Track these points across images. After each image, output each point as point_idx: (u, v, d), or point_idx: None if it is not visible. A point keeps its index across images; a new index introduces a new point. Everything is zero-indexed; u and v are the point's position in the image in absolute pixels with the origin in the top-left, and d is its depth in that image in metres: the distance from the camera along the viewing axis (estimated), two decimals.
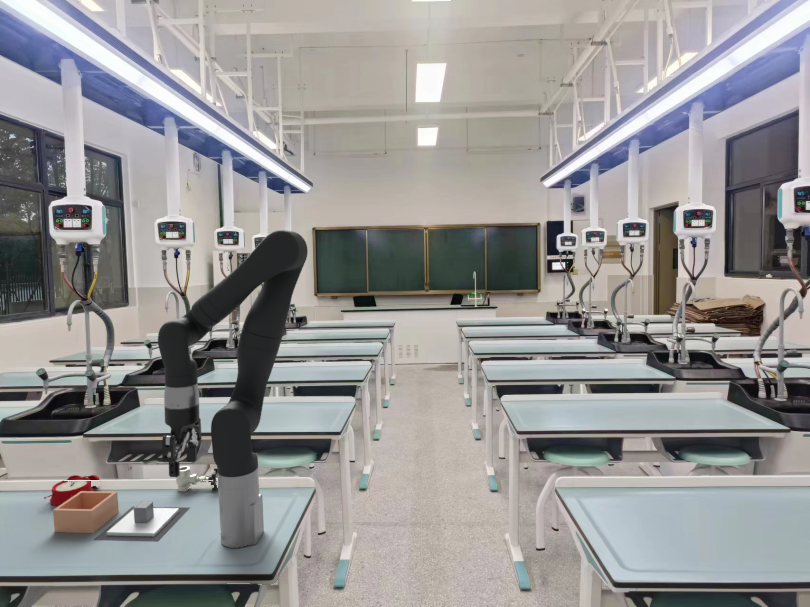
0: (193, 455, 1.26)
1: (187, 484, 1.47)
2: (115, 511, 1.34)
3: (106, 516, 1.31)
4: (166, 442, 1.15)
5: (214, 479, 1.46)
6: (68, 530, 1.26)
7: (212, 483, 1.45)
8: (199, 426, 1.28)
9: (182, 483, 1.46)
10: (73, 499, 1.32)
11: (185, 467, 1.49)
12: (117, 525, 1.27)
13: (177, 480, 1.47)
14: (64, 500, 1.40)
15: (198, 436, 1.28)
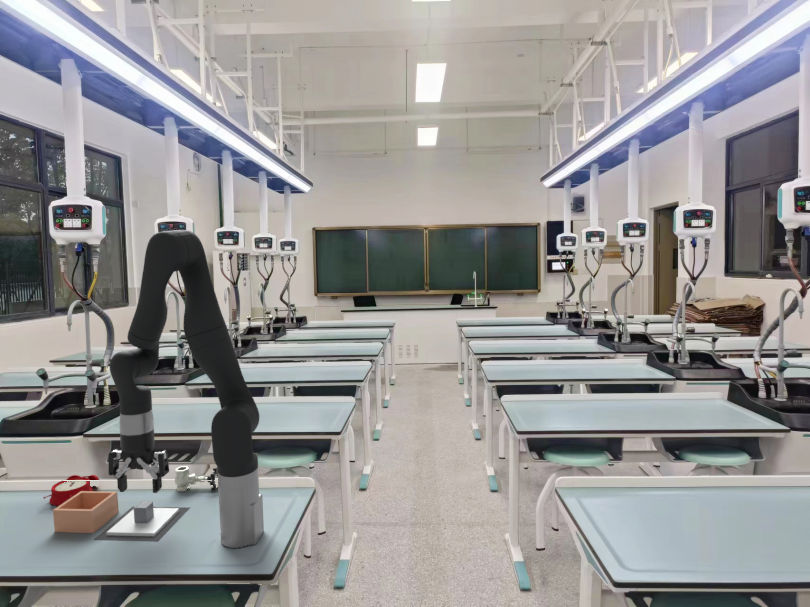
0: (125, 483, 1.29)
1: (186, 484, 1.47)
2: (115, 511, 1.34)
3: (106, 516, 1.31)
4: (164, 457, 1.27)
5: (213, 479, 1.46)
6: (68, 530, 1.26)
7: (211, 483, 1.45)
8: None
9: (181, 483, 1.46)
10: (73, 499, 1.32)
11: (184, 467, 1.49)
12: (117, 525, 1.27)
13: (176, 480, 1.47)
14: (63, 500, 1.40)
15: (118, 466, 1.29)
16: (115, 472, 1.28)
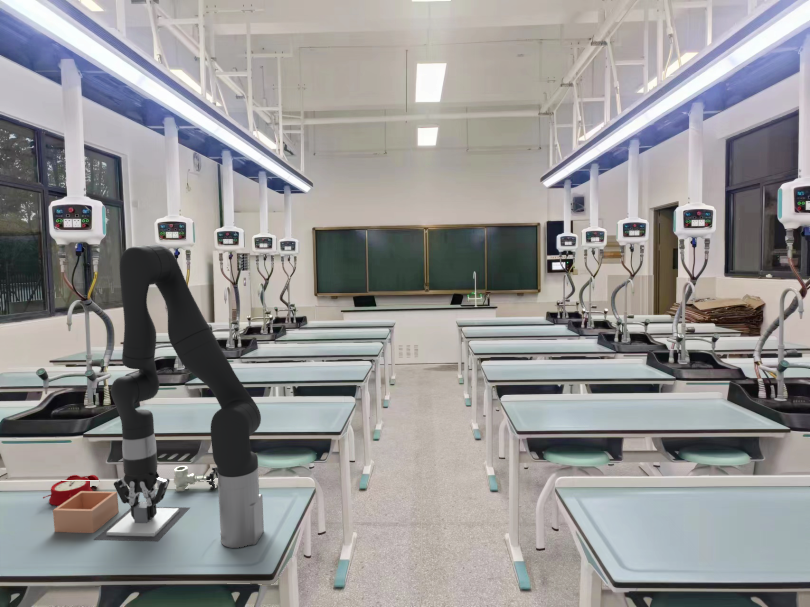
0: None
1: (185, 484, 1.47)
2: (115, 511, 1.34)
3: (106, 516, 1.31)
4: (165, 486, 1.28)
5: (212, 478, 1.47)
6: (68, 530, 1.26)
7: (210, 482, 1.46)
8: None
9: (180, 483, 1.46)
10: (73, 499, 1.32)
11: (182, 467, 1.49)
12: (117, 525, 1.27)
13: (175, 480, 1.47)
14: (63, 500, 1.40)
15: None
16: (128, 500, 1.29)
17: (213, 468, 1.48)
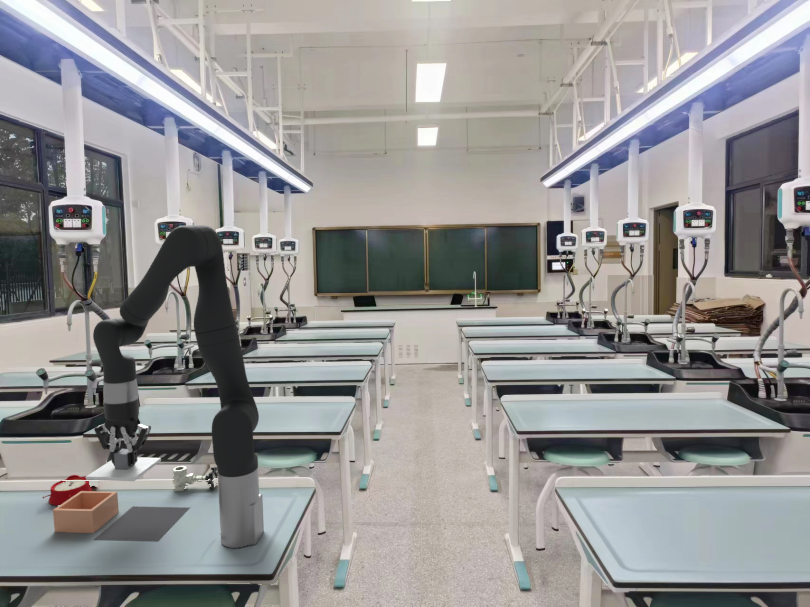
0: None
1: (184, 484, 1.47)
2: (115, 511, 1.34)
3: (106, 516, 1.31)
4: (146, 433, 1.27)
5: (211, 478, 1.47)
6: (68, 530, 1.26)
7: (209, 482, 1.46)
8: None
9: (179, 482, 1.46)
10: (73, 499, 1.32)
11: (181, 467, 1.49)
12: (97, 471, 1.26)
13: (174, 480, 1.47)
14: (62, 500, 1.40)
15: None
16: (109, 446, 1.28)
17: (212, 468, 1.48)
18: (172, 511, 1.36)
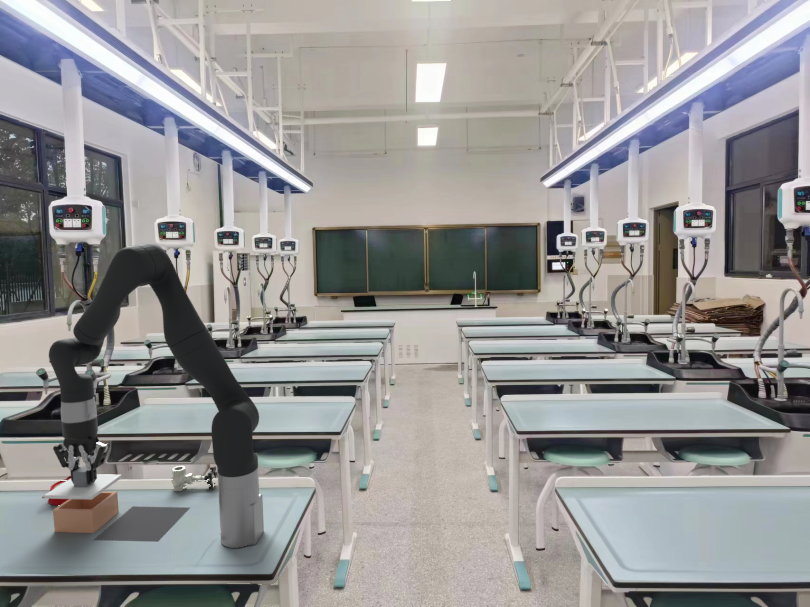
0: None
1: (183, 484, 1.47)
2: (115, 511, 1.34)
3: (106, 516, 1.31)
4: (105, 451, 1.28)
5: (210, 478, 1.47)
6: (68, 530, 1.26)
7: (209, 482, 1.46)
8: None
9: (178, 482, 1.46)
10: (73, 499, 1.32)
11: (180, 467, 1.49)
12: (56, 489, 1.27)
13: (173, 480, 1.47)
14: (62, 500, 1.40)
15: None
16: (68, 464, 1.29)
17: (211, 468, 1.48)
18: (172, 511, 1.36)
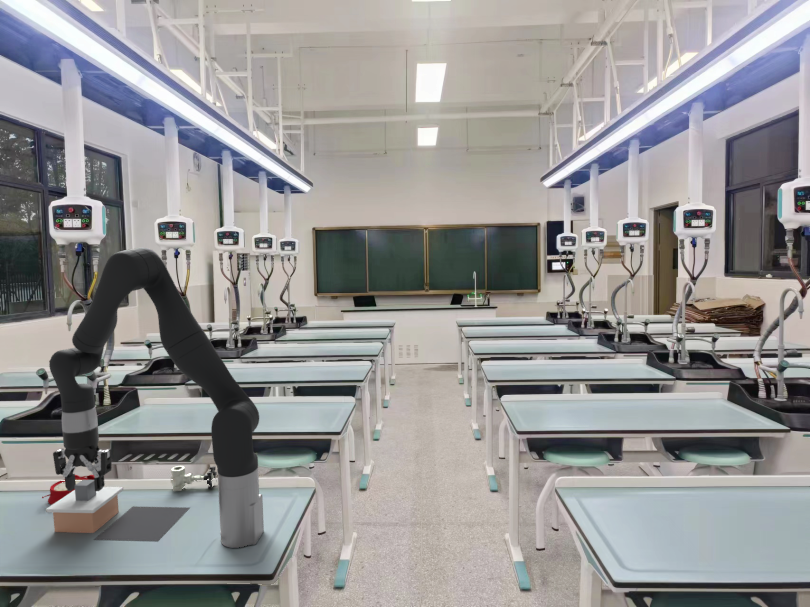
0: (74, 482, 1.31)
1: (182, 484, 1.48)
2: (115, 511, 1.34)
3: (106, 516, 1.31)
4: (107, 456, 1.28)
5: (210, 478, 1.47)
6: (68, 530, 1.26)
7: (208, 482, 1.46)
8: None
9: (177, 482, 1.46)
10: None
11: (179, 467, 1.49)
12: (58, 502, 1.28)
13: (172, 480, 1.47)
14: None
15: (66, 465, 1.31)
16: (62, 471, 1.29)
17: (210, 467, 1.49)
18: (172, 511, 1.36)
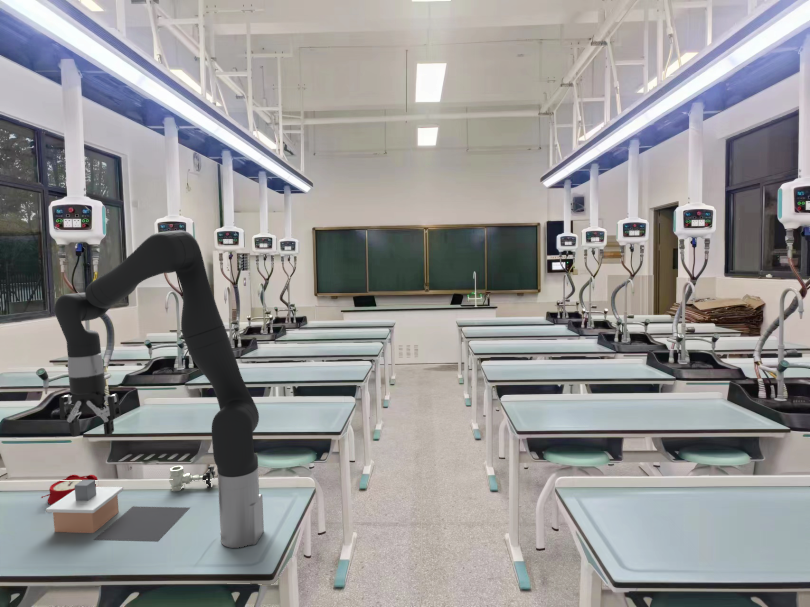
0: (78, 428, 1.30)
1: (181, 483, 1.48)
2: (115, 511, 1.34)
3: (106, 516, 1.31)
4: (114, 400, 1.28)
5: (209, 477, 1.47)
6: (68, 530, 1.26)
7: (207, 481, 1.46)
8: None
9: (176, 482, 1.47)
10: None
11: (178, 467, 1.49)
12: (58, 502, 1.28)
13: (170, 480, 1.47)
14: None
15: (70, 412, 1.30)
16: (67, 417, 1.28)
17: (209, 467, 1.49)
18: (172, 511, 1.36)
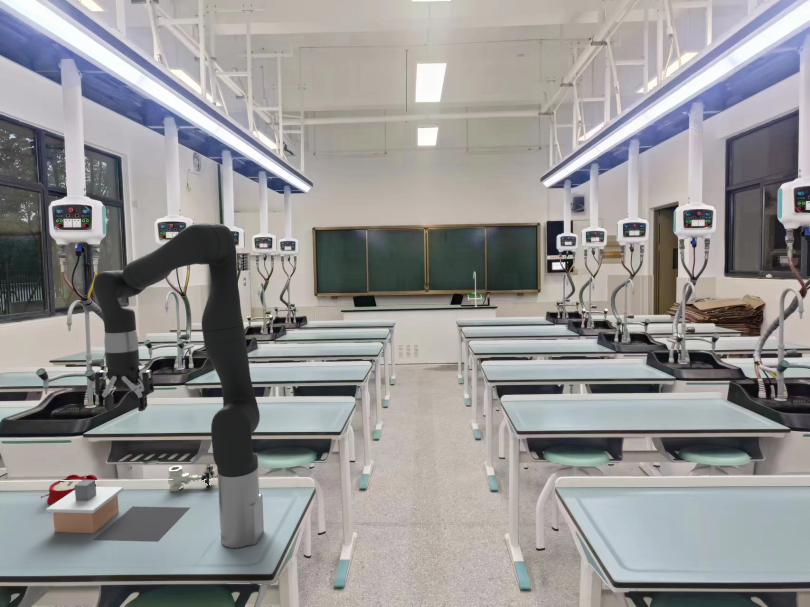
0: (112, 403, 1.33)
1: (180, 483, 1.48)
2: (115, 511, 1.34)
3: (106, 516, 1.31)
4: (149, 376, 1.31)
5: (208, 477, 1.48)
6: (68, 530, 1.26)
7: (206, 481, 1.46)
8: None
9: (175, 482, 1.47)
10: None
11: (176, 467, 1.49)
12: (58, 502, 1.28)
13: (169, 480, 1.47)
14: None
15: (105, 387, 1.33)
16: (102, 392, 1.32)
17: (208, 467, 1.49)
18: (172, 511, 1.36)
